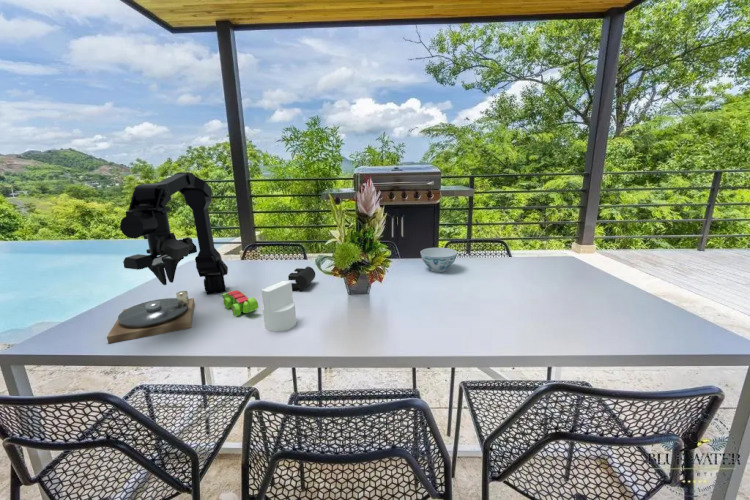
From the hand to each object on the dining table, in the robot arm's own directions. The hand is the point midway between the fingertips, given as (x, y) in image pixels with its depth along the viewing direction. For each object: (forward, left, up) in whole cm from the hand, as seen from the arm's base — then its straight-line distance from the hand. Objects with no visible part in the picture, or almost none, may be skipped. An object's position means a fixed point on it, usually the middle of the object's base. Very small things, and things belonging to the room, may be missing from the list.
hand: (168, 283), depth 101 cm
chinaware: (-97, -7, -13) cm, 98 cm away
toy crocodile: (-18, -3, -13) cm, 23 cm away
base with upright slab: (-28, +14, -13) cm, 34 cm away
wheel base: (+6, -6, -13) cm, 15 cm away
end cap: (-41, -14, -13) cm, 46 cm away
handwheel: (+5, -6, -11) cm, 13 cm away
